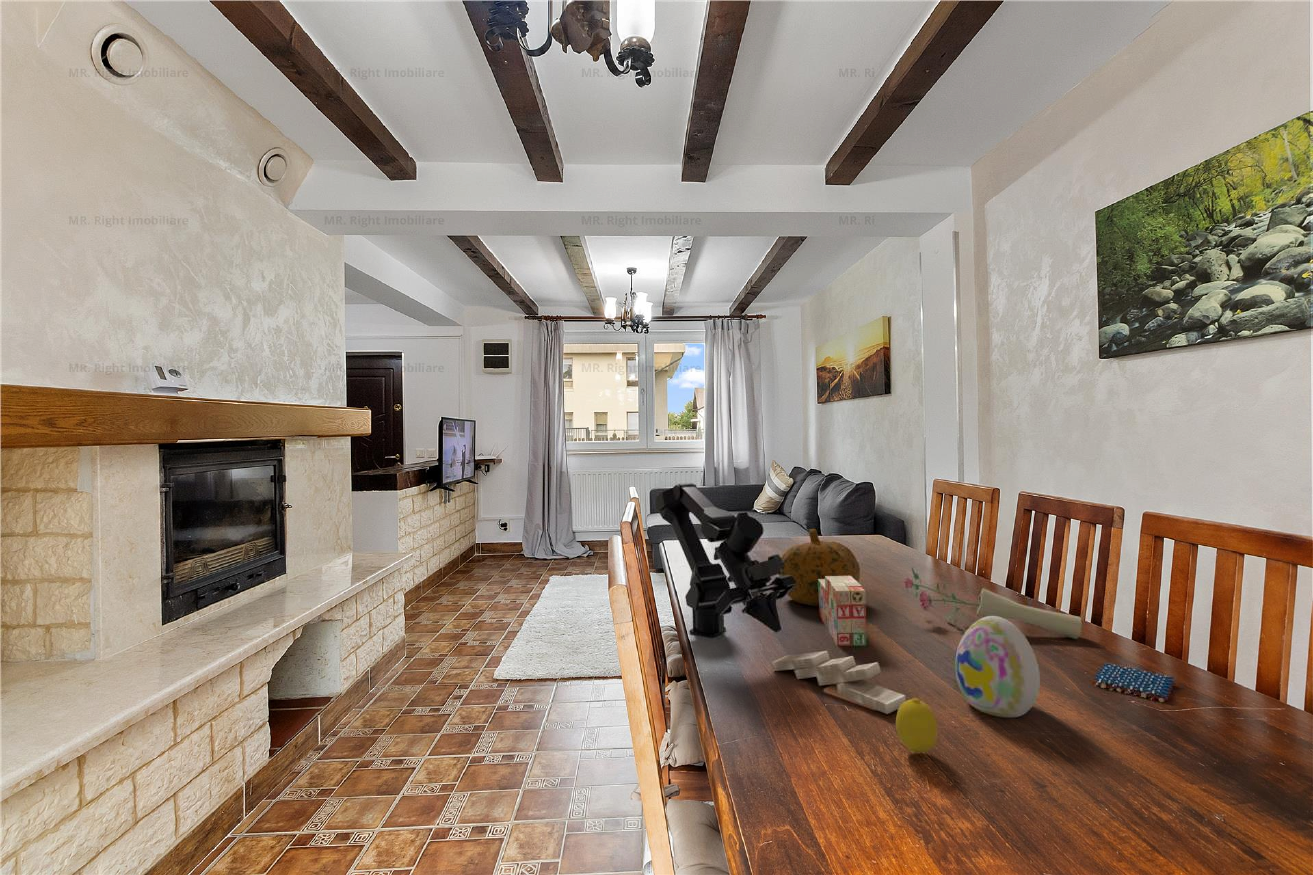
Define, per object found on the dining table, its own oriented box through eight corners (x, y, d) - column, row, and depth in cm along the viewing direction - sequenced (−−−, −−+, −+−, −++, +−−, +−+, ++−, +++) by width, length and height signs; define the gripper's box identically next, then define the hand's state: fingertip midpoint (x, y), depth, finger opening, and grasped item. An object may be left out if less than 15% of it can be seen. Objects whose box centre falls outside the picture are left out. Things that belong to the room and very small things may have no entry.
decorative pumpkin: (874, 608, 152) (864, 528, 153) (791, 617, 153) (782, 538, 153) (850, 589, 173) (841, 519, 173) (777, 598, 173) (768, 528, 174)
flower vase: (1069, 677, 128) (895, 624, 141) (1061, 642, 138) (900, 596, 152) (1087, 633, 123) (905, 582, 137) (1077, 600, 134) (909, 556, 147)
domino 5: (836, 684, 106) (886, 704, 98) (854, 676, 109) (905, 695, 101) (837, 693, 106) (887, 714, 98) (855, 685, 109) (905, 705, 101)
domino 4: (823, 688, 108) (875, 707, 101) (839, 680, 111) (890, 697, 104) (823, 697, 108) (875, 716, 101) (839, 689, 111) (890, 707, 104)
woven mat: (1102, 670, 115) (1102, 660, 114) (1175, 686, 107) (1175, 675, 107) (1089, 688, 107) (1089, 677, 107) (1167, 707, 100) (1167, 695, 100)
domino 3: (816, 676, 110) (865, 668, 104) (829, 670, 114) (877, 662, 108) (819, 685, 110) (869, 678, 103) (832, 678, 113) (881, 671, 107)
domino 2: (794, 670, 114) (839, 663, 107) (808, 663, 117) (852, 655, 111) (796, 679, 113) (842, 672, 107) (811, 671, 117) (856, 664, 110)
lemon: (935, 746, 89) (934, 692, 89) (940, 766, 84) (939, 709, 84) (895, 741, 91) (894, 688, 91) (897, 760, 86) (896, 704, 85)
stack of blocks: (818, 615, 151) (817, 566, 151) (844, 615, 151) (842, 566, 151) (837, 646, 130) (835, 589, 130) (867, 646, 129) (865, 589, 129)
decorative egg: (939, 699, 104) (937, 612, 104) (989, 685, 109) (987, 602, 108) (1005, 731, 93) (1003, 633, 92) (1058, 713, 97) (1056, 621, 97)
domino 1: (771, 662, 118) (812, 657, 111) (786, 655, 122) (827, 650, 114) (773, 670, 118) (815, 666, 111) (789, 663, 121) (830, 659, 114)
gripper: (723, 549, 118) (766, 620, 109) (789, 536, 129) (832, 600, 120) (698, 581, 125) (736, 650, 116) (763, 566, 136) (802, 628, 127)
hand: (778, 631), depth 120 cm, fingers closed
